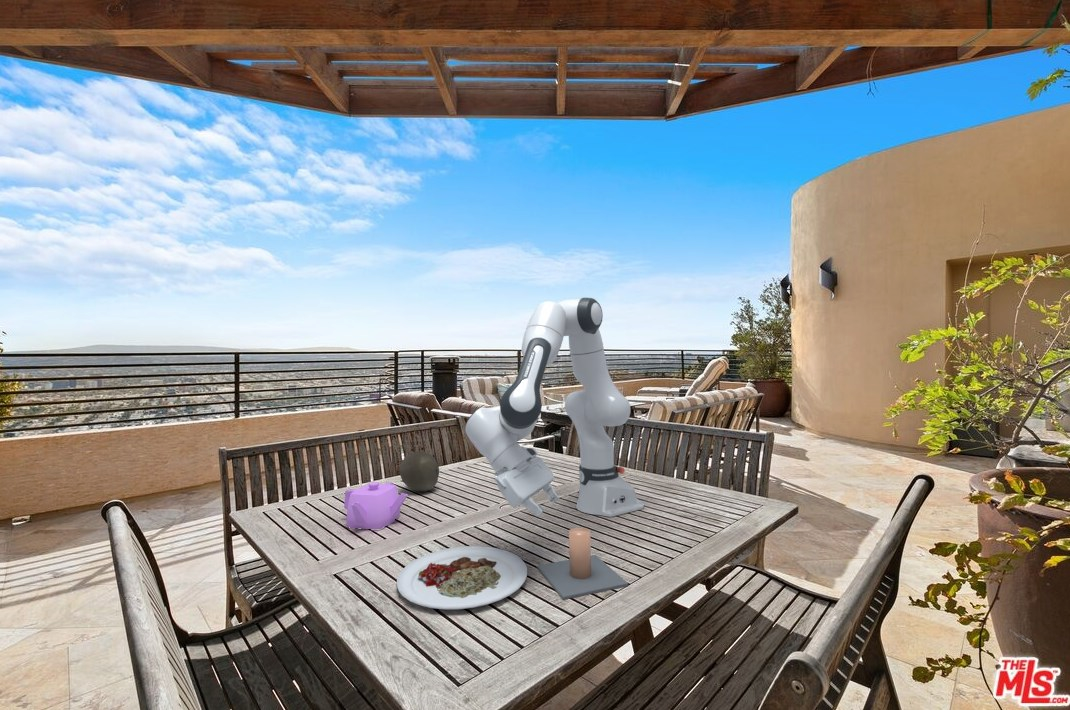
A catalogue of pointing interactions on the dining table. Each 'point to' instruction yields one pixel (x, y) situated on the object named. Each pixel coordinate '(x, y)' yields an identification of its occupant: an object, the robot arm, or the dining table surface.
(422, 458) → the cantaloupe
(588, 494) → the robot arm
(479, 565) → the plated food
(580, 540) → the tan rounded cylinder
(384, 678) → the dining table surface
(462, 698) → the dining table surface
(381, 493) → the teakettle
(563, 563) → the mat
